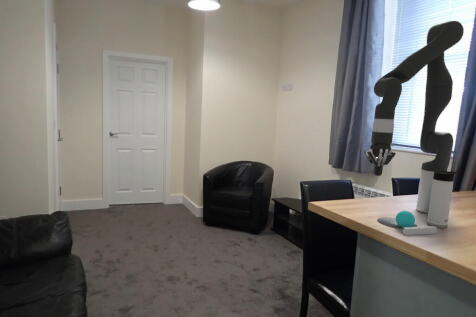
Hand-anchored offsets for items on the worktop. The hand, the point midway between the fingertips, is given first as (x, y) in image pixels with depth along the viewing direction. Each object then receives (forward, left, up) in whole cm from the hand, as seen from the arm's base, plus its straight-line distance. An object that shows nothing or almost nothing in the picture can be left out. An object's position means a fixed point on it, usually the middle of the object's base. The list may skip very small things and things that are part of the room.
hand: (377, 175), depth 132 cm
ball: (+1, +18, -12) cm, 22 cm away
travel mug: (-14, +17, -15) cm, 27 cm away
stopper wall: (0, +24, -15) cm, 28 cm away
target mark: (0, +13, -15) cm, 20 cm away
